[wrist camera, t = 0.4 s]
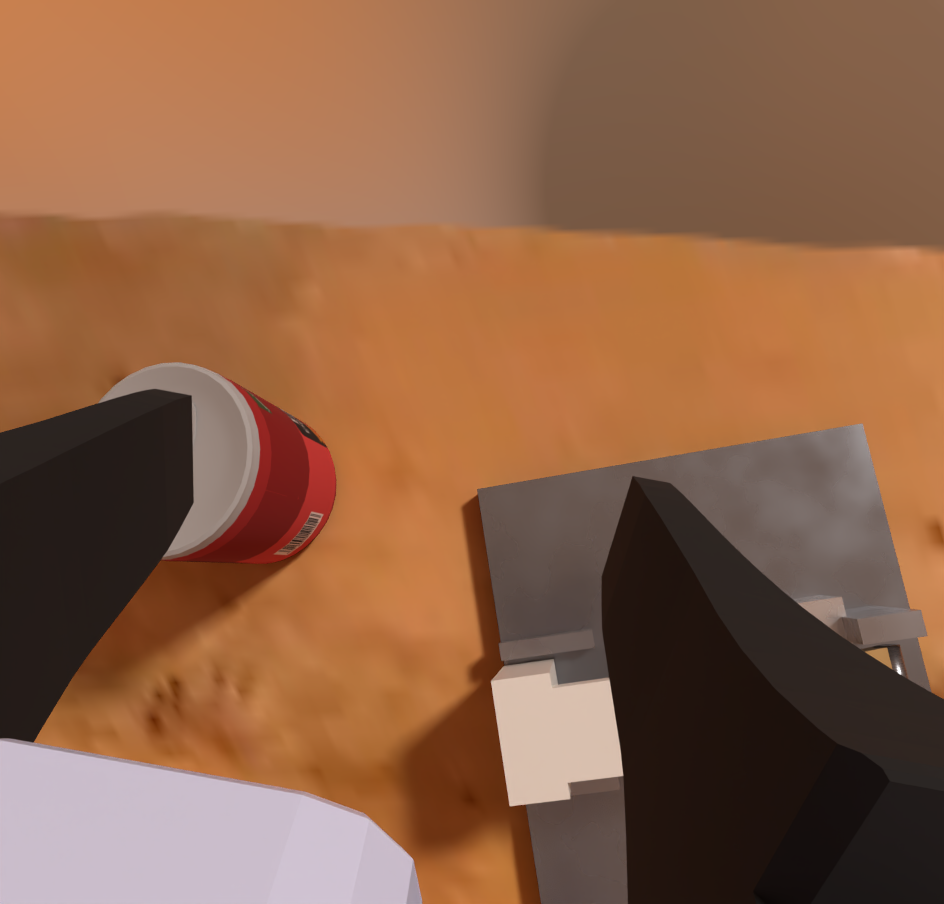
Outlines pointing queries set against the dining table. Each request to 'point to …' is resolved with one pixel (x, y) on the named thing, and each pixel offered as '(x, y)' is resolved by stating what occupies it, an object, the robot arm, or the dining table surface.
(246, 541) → the canned food
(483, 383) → the dining table surface
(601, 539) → the base plate
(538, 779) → the latch
